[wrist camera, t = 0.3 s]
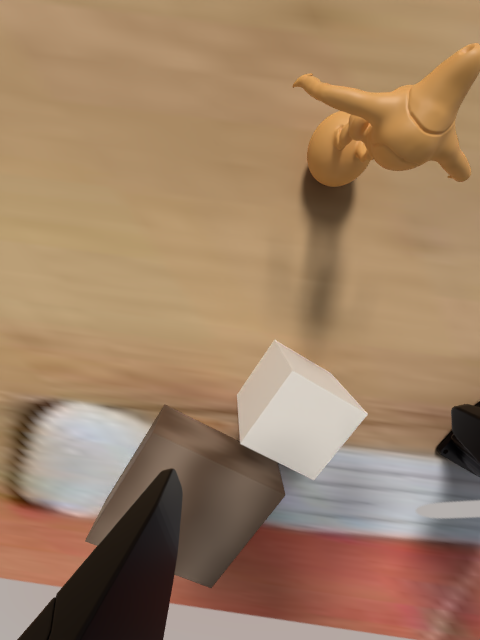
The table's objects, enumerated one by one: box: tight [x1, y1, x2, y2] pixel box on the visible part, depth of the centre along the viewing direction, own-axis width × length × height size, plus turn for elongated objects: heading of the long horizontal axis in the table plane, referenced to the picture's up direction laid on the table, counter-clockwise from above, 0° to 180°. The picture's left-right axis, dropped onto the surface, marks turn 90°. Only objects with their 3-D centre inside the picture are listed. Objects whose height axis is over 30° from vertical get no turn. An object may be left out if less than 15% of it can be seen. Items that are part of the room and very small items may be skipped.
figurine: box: [293, 43, 480, 187], centre depth 12 cm, size 8×6×12 cm
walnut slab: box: [85, 405, 285, 588], centre depth 22 cm, size 12×12×4 cm
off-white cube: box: [237, 340, 368, 480], centre depth 19 cm, size 6×6×6 cm
